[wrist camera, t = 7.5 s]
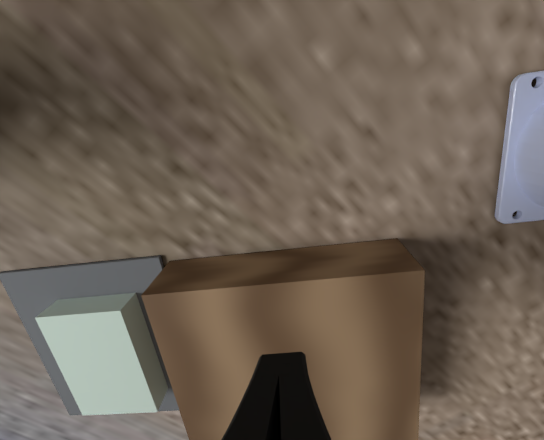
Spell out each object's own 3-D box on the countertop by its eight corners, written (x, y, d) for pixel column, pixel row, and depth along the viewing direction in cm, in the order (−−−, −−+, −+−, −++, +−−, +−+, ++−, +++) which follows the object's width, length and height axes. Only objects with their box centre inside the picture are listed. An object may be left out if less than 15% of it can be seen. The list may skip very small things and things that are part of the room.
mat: (160, 255, 20) (158, 257, 19) (204, 405, 24) (203, 409, 24) (1, 271, 21) (-3, 273, 20) (72, 411, 25) (69, 415, 25)
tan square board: (397, 238, 18) (425, 270, 14) (396, 391, 22) (417, 447, 19) (169, 261, 20) (141, 295, 16) (209, 400, 24) (194, 454, 20)
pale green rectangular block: (34, 317, 19) (57, 299, 21) (82, 415, 22) (98, 392, 24) (120, 310, 18) (135, 292, 20) (157, 411, 21) (168, 388, 23)
